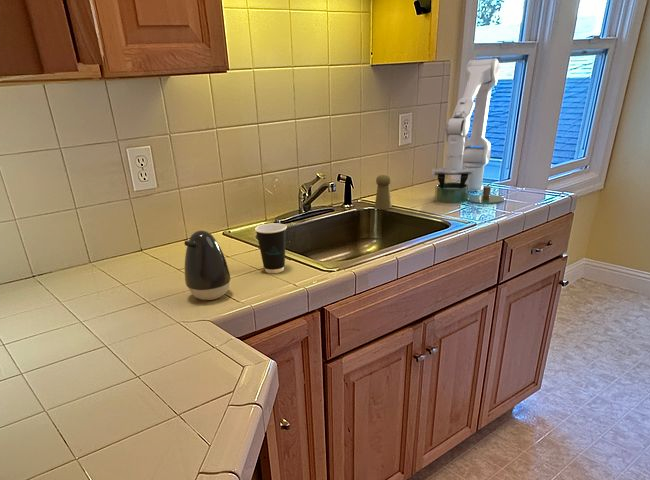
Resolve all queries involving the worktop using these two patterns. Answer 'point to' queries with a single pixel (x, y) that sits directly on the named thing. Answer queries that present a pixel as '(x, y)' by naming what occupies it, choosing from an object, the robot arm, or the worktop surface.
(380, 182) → the beige peg figure
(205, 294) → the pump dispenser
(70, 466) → the worktop surface
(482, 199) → the lid
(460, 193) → the green pot
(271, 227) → the dixie cup
